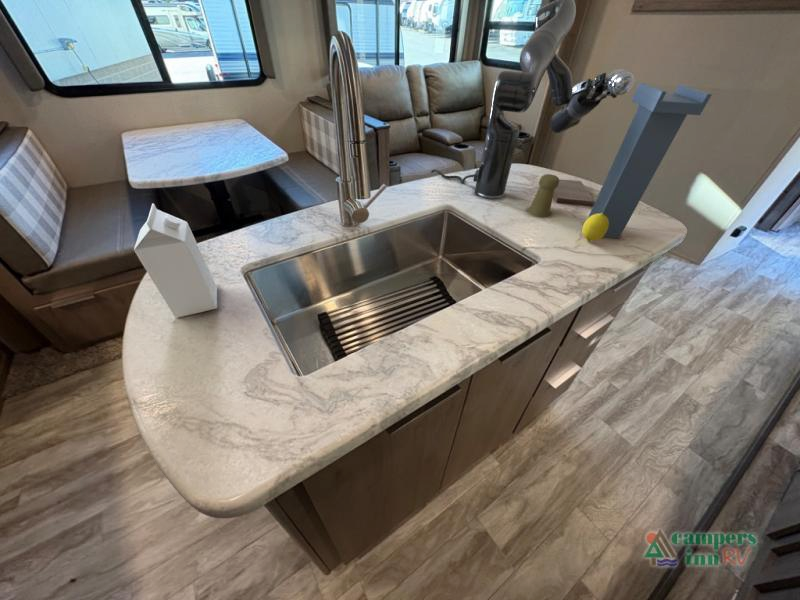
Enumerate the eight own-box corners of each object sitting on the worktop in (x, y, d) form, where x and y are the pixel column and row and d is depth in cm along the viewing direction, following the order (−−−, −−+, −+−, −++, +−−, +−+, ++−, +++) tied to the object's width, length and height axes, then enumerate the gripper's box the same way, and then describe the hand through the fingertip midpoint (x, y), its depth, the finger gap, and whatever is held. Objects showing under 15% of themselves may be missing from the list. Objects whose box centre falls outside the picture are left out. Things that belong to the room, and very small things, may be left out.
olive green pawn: (545, 218, 94) (558, 181, 86) (525, 212, 96) (536, 176, 89) (551, 211, 97) (565, 175, 90) (532, 206, 100) (544, 170, 93)
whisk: (631, 97, 81) (641, 73, 77) (610, 96, 81) (619, 72, 78) (606, 84, 96) (613, 63, 93) (588, 83, 97) (595, 63, 93)
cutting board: (592, 205, 101) (594, 201, 100) (556, 202, 103) (557, 197, 102) (579, 185, 114) (581, 181, 113) (547, 182, 115) (548, 178, 114)
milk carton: (175, 319, 59) (118, 226, 47) (178, 295, 64) (127, 206, 52) (217, 309, 62) (174, 218, 49) (217, 287, 66) (177, 200, 54)
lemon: (590, 248, 82) (604, 220, 77) (572, 238, 86) (585, 210, 80) (604, 244, 84) (619, 216, 79) (586, 234, 88) (599, 206, 82)
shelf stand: (626, 243, 84) (712, 94, 62) (590, 239, 85) (662, 91, 63) (611, 222, 93) (682, 85, 71) (579, 219, 94) (639, 82, 72)
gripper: (564, 88, 105) (586, 60, 89) (608, 90, 104) (640, 62, 87) (559, 113, 107) (580, 90, 90) (603, 116, 105) (633, 93, 89)
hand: (609, 77), depth 89 cm, fingers closed on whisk, 2 cm apart
